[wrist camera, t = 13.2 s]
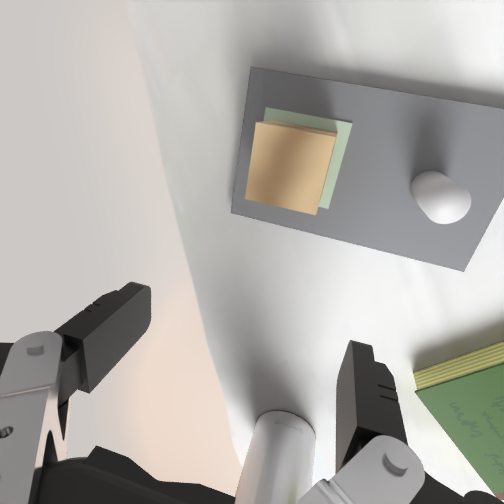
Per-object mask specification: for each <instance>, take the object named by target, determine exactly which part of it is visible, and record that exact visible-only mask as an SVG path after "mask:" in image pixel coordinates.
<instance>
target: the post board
mask: <svg viewBox="0 0 504 504" xmlns="http://www.w3.org/2000/svg"><path fill="white" fill-rule="evenodd" d="M273 120H274V121H280V122H285V123H291V124H296V125H302V126H307V127H313V128H318V129H324V130H329V131H335V132H338V134H337V138H336V142H335V145H334V149H333V153H332V157H331V161H330V165H329V169H328V173H327V176H326V180H325V184H324V188H323V192H322V196H321V199H320V203H319V206H318V209H317V213H316V215H312V214H308V213H304V212H299V211H295V210H291V209H286V208H282V207H278V206H273V205H269V204H265V203H260V202H256V201H252V200H247V199H245V194H246V188H247V181H248V174H249V167H250V160H251V153H252V147H253V140H254V133H255V126H256V122H263V121H273ZM503 198H504V109H501V108H495V107H489V106H483V105H477V104H471V103H465V102H459V101H453V100H447V99H441V98H435V97H429V96H423V95H417V94H411V93H405V92H399V91H393V90H387V89H381V88H375V87H369V86H363V85H357V84H351V83H345V82H339V81H332V80H326V79H320V78H314V77H308V76H302V75H296V74H290V73H284V72H278V71H272V70H266V69H260V68H254V67H251V70H250V77H249V84H248V92H247V99H246V106H245V113H244V120H243V127H242V135H241V142H240V149H239V156H238V163H237V171H236V178H235V185H234V192H233V199H232V206H231V213H233V214H237V215H241V216H245V217H249V218H253V219H257V220H261V221H265V222H269V223H273V224H277V225H281V226H285V227H289V228H293V229H297V230H301V231H305V232H309V233H313V234H316V235H320V236H324V237H328V238H332V239H336V240H340V241H344V242H348V243H352V244H356V245H360V246H364V247H368V248H372V249H376V250H380V251H384V252H388V253H392V254H396V255H400V256H404V257H408V258H411V259H415V260H419V261H423V262H427V263H431V264H435V265H439V266H443V267H447V268H451V269H455V270H459V271H463V272H464V270H465V268H466V267H467V265H468V263H469V261H470V259H471V257H472V255H473V254H474V252H475V250H476V248H477V246H478V244H479V242H480V241H481V239H482V237H483V235H484V233H485V231H486V229H487V227H488V226H489V224H490V222H491V220H492V218H493V216H494V214H495V213H496V211H497V209H498V207H499V205H500V203H501V201H502V200H503Z"/></svg>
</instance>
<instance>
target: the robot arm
mask: <svg viewBox="0 0 504 504" xmlns="http://www.w3.org/2000/svg"><path fill="white" fill-rule="evenodd" d="M150 321H151V289H150V287H149V286H146V285H142V284H138V283H135V282H129V283H128V284H127V285H125V286H124V287H123V288H122V289H120V290H119V291H117V290H115V291H112V292H110V293H107V294H105V295H102V296H101V297H100V298H98V299H97V300H96V301H94V302H93V304H90V305H89V306H87V307H86V308H85V309H84V310H82V311H81V312H79V313H78V314H77V315H75V316H74V317H73V318H71V319H70V320H69V321H68V322H66V323H65V324H63V325H62V326H61V327H59V328H58V329H56V330H55V331H54V332H50V331H43V332H36V333H32V334H29V335H27V336H25V337H23V338H21V339H20V340H18V341H17V342H15V343H0V504H504V502H502V501H501V500H499V499H498V498H496V497H494V496H493V495H490V494H488V493H486V492H482V491H477V490H475V491H470V492H468V493H466V494H465V496H464V497H462V496H461V495H459V494H458V493H456V492H454V491H453V490H451V489H449V488H448V487H446V486H445V485H443V484H441V483H440V482H438V481H437V480H435V479H434V478H432V477H431V476H430V475H429V474H427V473H426V472H425V471H424V468H423V465H422V463H421V461H420V459H419V458H418V456H417V455H416V454H415V453H414V451H413V450H412V449H411V448H410V447H409V446H408V443H407V438H406V433H405V429H404V424H403V419H402V414H401V410H400V405H399V403H398V396H397V392H396V386H395V382H394V377H393V375H392V374H391V372H390V371H389V369H388V368H387V366H386V365H385V364H383V363H379V362H376V361H374V354H373V348H372V346H371V345H368V344H364V343H360V342H356V341H353V340H350V342H349V344H348V347H347V350H346V353H345V356H344V359H343V362H342V365H341V368H340V371H339V374H338V379H337V387H336V475H335V476H334V477H333V478H332V479H330V480H329V481H327V480H326V479H322V480H320V481H319V482H318V483H316V484H315V485H314V486H313V487H312V488H311V483H312V473H313V463H314V451H315V440H316V437H315V433H314V431H313V429H312V428H311V427H310V425H309V424H308V423H307V422H306V421H304V420H303V419H301V418H300V417H298V416H296V415H294V414H292V413H288V412H284V411H271V412H267V413H265V414H263V415H261V416H260V417H259V418H258V420H257V422H256V426H255V429H254V433H253V436H252V440H251V443H250V446H249V449H248V453H247V456H246V460H245V463H244V467H243V470H242V473H241V477H240V480H239V484H238V487H237V491H236V494H235V497H233V496H231V495H228V494H225V493H223V492H220V491H217V490H214V489H212V488H209V487H206V486H204V485H201V484H194V483H179V482H163V481H158V480H156V479H155V478H153V477H152V476H151V475H150V474H148V473H147V472H146V471H145V470H143V469H142V468H141V467H140V466H138V465H137V464H136V463H135V462H134V461H132V460H131V459H130V458H128V457H126V456H123V455H120V454H118V453H115V452H112V451H110V450H107V449H104V448H102V447H99V446H96V447H95V448H94V449H93V450H92V452H91V453H90V455H89V456H88V457H78V458H70V459H67V441H68V431H69V422H70V412H71V402H72V399H71V395H72V394H73V393H74V392H75V391H76V390H77V389H78V390H81V391H84V392H87V393H90V392H91V391H92V390H93V389H94V388H95V387H96V386H97V385H98V384H99V383H100V381H101V380H102V379H103V378H104V377H105V376H106V375H107V374H108V373H109V371H110V370H111V369H112V368H113V367H114V366H115V365H116V364H117V363H118V362H119V361H120V359H121V358H122V357H123V356H124V355H125V354H126V353H127V352H128V350H130V348H131V347H132V346H133V345H134V344H135V343H136V342H137V341H138V340H139V339H140V337H141V336H142V335H143V334H144V333H145V332H146V330H147V329H148V327H149V324H150Z"/></svg>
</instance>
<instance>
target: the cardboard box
mask: <svg viewBox="0 0 504 504" xmlns="http://www.w3.org/2000/svg"><path fill="white" fill-rule="evenodd" d="M337 134H338V132H335V131H329V130H324V129H318V128H313V127H307V126H302V125H296V124H291V123H285V122H280V121H274V120H273V121H263V122H256V126H255V133H254V140H253V147H252V153H251V160H250V167H249V174H248V181H247V188H246V194H245V199H247V200H252V201H256V202H260V203H265V204H269V205H273V206H278V207H282V208H286V209H291V210H295V211H299V212H304V213H308V214H312V215H316V213H317V209H318V206H319V203H320V199H321V196H322V192H323V188H324V184H325V180H326V176H327V173H328V169H329V165H330V161H331V157H332V153H333V149H334V145H335V142H336V138H337Z"/></svg>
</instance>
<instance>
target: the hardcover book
mask: <svg viewBox="0 0 504 504" xmlns="http://www.w3.org/2000/svg"><path fill="white" fill-rule="evenodd" d="M413 374H414V378H415V382H416V386H417V390H416V391H415V393H416V395H417V396H418V397H419V398H420V400H421V401H422V402H423V404H424V405H425V406H426V407H427V409H428V410H429V411H430V413H431V414H432V415H433V416H434V418H435V419H436V420H437V422H438V423H439V424H440V425H441V427H442V428H443V429H444V431H445V432H446V433H447V434H448V436H449V437H450V438H451V440H452V441H453V442H454V443H455V445H456V446H457V447H458V449H459V450H460V451H461V452H462V454H463V455H464V456H465V458H466V459H467V460H468V461H469V463H470V464H471V465H472V467H473V468H474V469H475V470H476V472H477V473H478V474H479V476H480V477H481V478H482V479H483V481H484V482H485V483H486V485H487V486H488V487H489V488H490V490H491V491H492V492H493V494H494V495H495V496H496V497H497V498H498V499H499V500H504V341H502V342H499V343H496V344H493V345H490V346H487V347H485V348H482V349H479V350H476V351H473V352H470V353H467V354H464V355H462V356H459V357H456V358H453V359H450V360H447V361H444V362H441V363H439V364H436V365H433V366H430V367H427V368H424V369H421V370H419V371H416V372H413Z"/></svg>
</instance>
